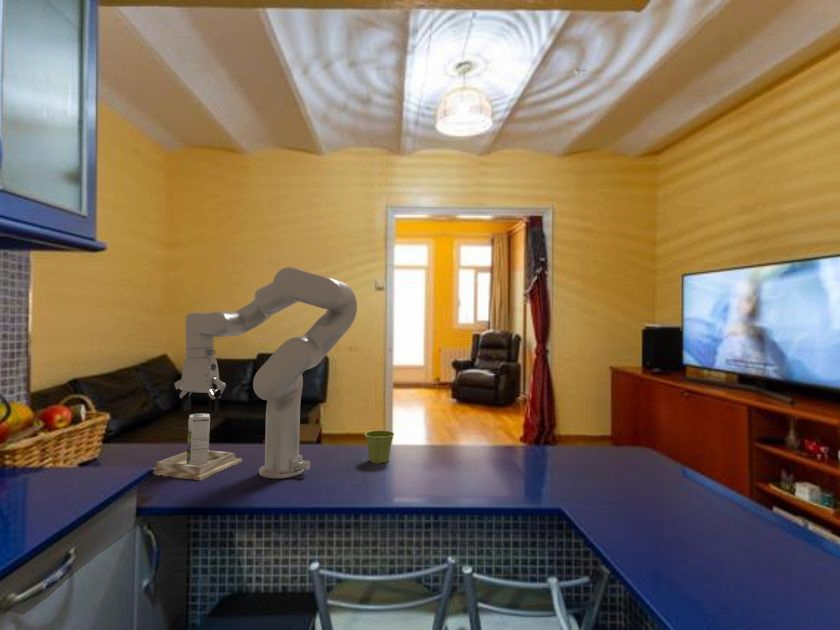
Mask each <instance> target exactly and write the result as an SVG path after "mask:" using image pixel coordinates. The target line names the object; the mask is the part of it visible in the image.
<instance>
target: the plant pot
mask: <svg viewBox="0 0 840 630" xmlns="http://www.w3.org/2000/svg"><path fill="white" fill-rule="evenodd" d="M394 435H395V432H393V431H389V430H370V431H367V432H365V433H364V436H365V439H366V443H367V450H368V451H367V452H368V459H369V462H370V463H373V464H381V463H385V464H386V463H388V462H389V460H390V454H391V447H392V441H393V438H394Z"/></svg>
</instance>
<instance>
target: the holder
mask: <svg viewBox="0 0 840 630" xmlns="http://www.w3.org/2000/svg"><path fill="white" fill-rule="evenodd" d="M242 462H243V458H241V457H240V458H239V457H236V453H235V452H229V451H218V450H209V452H208V463H206V464H203V465H201V466H196V465H187V451H185V452H182V453H179V454H176V455H172V456H169V457H167V458H164V459H162V460H159V461H156V462H155V467H153V468H152V469H154V474H155V475H154V476H160V475H163V476H162V477H168V476H169V478H175V479H185V480H192V479H193V480H194V481H204V480H205V479H207V478H210V477H211V475H212V476H214V475H216V474H218V473H221V472H223V471H224V469H225V470H227V469H229V468H232V467H233V465H234V466H237V465H238V464H241V463H242ZM231 466H232V467H231ZM228 467H229V468H228ZM226 468H227V469H226ZM222 470H223V471H222ZM220 471H221V472H220ZM217 472H218V473H217ZM215 473H216V474H215ZM213 474H214V475H213Z"/></svg>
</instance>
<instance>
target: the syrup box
mask: <svg viewBox="0 0 840 630" xmlns="http://www.w3.org/2000/svg"><path fill="white" fill-rule="evenodd" d="M210 423H211V413H194V414H193V413H192V414H189V417H188V423H187V424H188V427H187V442H186V443H187V447H186V452H187V465H196V466H201V465H203V464H206V463H208V452H209V447H210V428H211V427H210Z"/></svg>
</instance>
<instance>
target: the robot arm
mask: <svg viewBox="0 0 840 630" xmlns="http://www.w3.org/2000/svg"><path fill="white" fill-rule="evenodd" d="M298 302H300V303H303V304H307V305H309V306H314V307H316V308H319V309H323V310H324V309H325V310H326V311H325V313H323V315H321V316H320V317H319V318H318V319H317V320H316V321H315V323H314V324H313V325H312V326H311V327H310V328H309V329H308V330H307V331H306V332H305V333H303V335H300V336H294V337H290V338H289V339H287V340H286V341H284V342H283V343H282V344H280V346H279V347H278V348H277V349H276V350H275V351H274V352H273V353H272V355H271V356H269V358H268V359H267V360H266V361H265V362H264V364H262V366H260V368H259V369H258V370H257V372H256V373H255V375H254V377H253V381H252V388H253V391H254V393H255V395H257V397H258V398H259V399H261V400H264V401H267V402H266V409H265V435H264V436H265V437H264V438H265V443H264V444H265V445H264V446H265V447H264V465H262V466H261V467H260V468H259V469H258V475H260V476H261V477H263V478H267V479H287V478H288V479H289V478H292V477H296V476H299V475H301V474H302V473H304V471H305V470H307V471H308V470H310V469H311V460H304V459H303V454H300V427H301V426H300V422H301V419H300V418H301V399H302V393H303V392H302V391H303V386H304V376H303V373H305V372H306V370H310V369H313V368H315V367H317V366H318V365H319V364H320V363H321V362H322V361H323V359H324V358H325V357H326V356H327V354H329V353H330V351H331V350H332V349H333V348H334V346H336V345H337V343H338V342H339V341H340V339H342V337H343V336H345V334H346V332H348V330H349V329H350V328H351V327H352V324H353V323H354V321H355V319H356V316H357V311H358V304H357V303H358V302H357V297H356V294H355V292H354V291H353V289H352V288H351V287H350V286H349V285H348V284H347V283H345V282H343V281H341V280H336V279H334V278H330V277H327V276H322V275H320V274H316V273H312V272H308V271H305V270H302V269H301V268H300V269H299V268H296V267H292V266H287V267H284V268H281V269H279V270H278V271H277V273H276V274H275V276H274V278H273V280H272V282H270V283H268V284H266V285H264V286H262V287H260V288H259V289H257V290H256V291H255V292H254V299H253V300H252V301H251V302H249V303H248V304H247V305H245V306H243V307H241V308H239V309H237V310H235V311H212V312H190V313H187V314H186V317H185V358H184V359H183V364H182V371H181V372H182V373H181V378H180V379H179V380H177V381H176V382H174V383H173V384H174V388H175V389H176V393H177V394H178V395H179V398H180V399H181V401H180V402H181V412H182V413H185V412H189V411H191V409H192V397H191V395H192V393H201V394H202V393H207V394H208V396H209V397H210V399H209V400H208V413H209V414H214V413H216V412H217V413H218V412H219V399H221V397H222V395H223V394H224V391H225V388H226V386H227V384H226V382H224V381H222V380H220V372H219V366H218V361H217V358H215V356H214V355H216V354H217V351H216V350H215V349H214V348H215V347H214V343H215V341H214V338H225V337H238V336H240V335H244V334H245V333H247V332H249V331H251V330H253V329H256V328H257V327H259V326H260V325H262V324H263V323H264V322H266V321H267V320H268V319H270V318H271V317H272V316H273V315H275V314H277V313H280V312H281V311H284V310H285V309H288V307H291V306H292V305H295V304H296V303H298Z"/></svg>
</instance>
